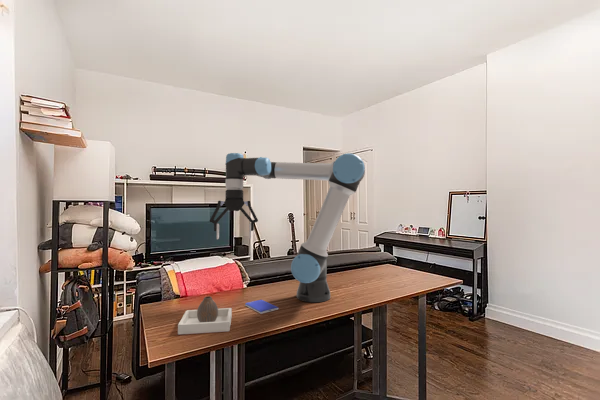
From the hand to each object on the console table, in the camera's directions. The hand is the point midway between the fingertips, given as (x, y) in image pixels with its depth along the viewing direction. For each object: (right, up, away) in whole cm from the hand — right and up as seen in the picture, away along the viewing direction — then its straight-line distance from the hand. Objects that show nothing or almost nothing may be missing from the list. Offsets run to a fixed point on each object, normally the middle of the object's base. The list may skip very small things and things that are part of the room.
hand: (234, 238), depth 132 cm
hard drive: (+13, -27, -8) cm, 31 cm away
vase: (-4, -26, -26) cm, 37 cm away
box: (-4, -26, -27) cm, 37 cm away
